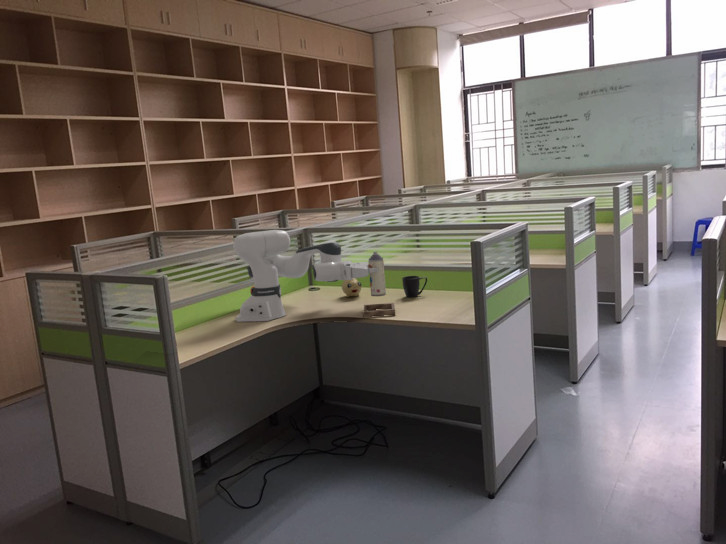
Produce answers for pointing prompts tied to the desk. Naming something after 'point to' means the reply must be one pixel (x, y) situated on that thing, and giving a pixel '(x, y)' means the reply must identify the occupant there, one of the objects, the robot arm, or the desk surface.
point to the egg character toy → (351, 287)
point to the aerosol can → (377, 275)
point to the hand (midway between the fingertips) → (378, 267)
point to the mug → (412, 286)
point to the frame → (379, 312)
